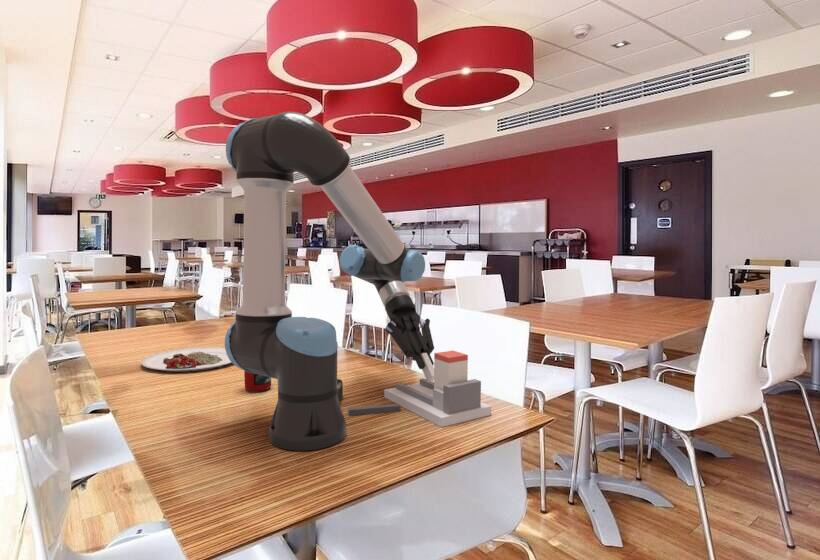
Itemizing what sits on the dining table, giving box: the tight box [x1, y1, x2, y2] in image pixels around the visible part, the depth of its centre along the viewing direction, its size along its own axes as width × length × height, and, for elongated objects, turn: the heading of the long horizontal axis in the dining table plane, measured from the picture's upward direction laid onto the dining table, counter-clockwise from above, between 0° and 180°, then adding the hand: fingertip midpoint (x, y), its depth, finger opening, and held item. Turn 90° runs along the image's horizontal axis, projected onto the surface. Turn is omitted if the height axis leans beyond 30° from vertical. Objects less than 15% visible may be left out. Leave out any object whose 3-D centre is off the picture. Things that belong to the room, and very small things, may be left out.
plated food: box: [141, 346, 233, 373], centre depth 162 cm, size 30×30×3 cm
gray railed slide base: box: [384, 378, 492, 428], centre depth 120 cm, size 24×14×8 cm, turn 33°
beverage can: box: [243, 370, 272, 393], centre depth 132 cm, size 7×7×12 cm
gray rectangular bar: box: [347, 403, 402, 417], centre depth 116 cm, size 12×2×2 cm, turn 105°
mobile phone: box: [337, 378, 344, 402], centre depth 120 cm, size 5×3×15 cm
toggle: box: [433, 350, 469, 391], centre depth 115 cm, size 5×5×11 cm
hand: (432, 378), depth 121 cm, fingers closed
